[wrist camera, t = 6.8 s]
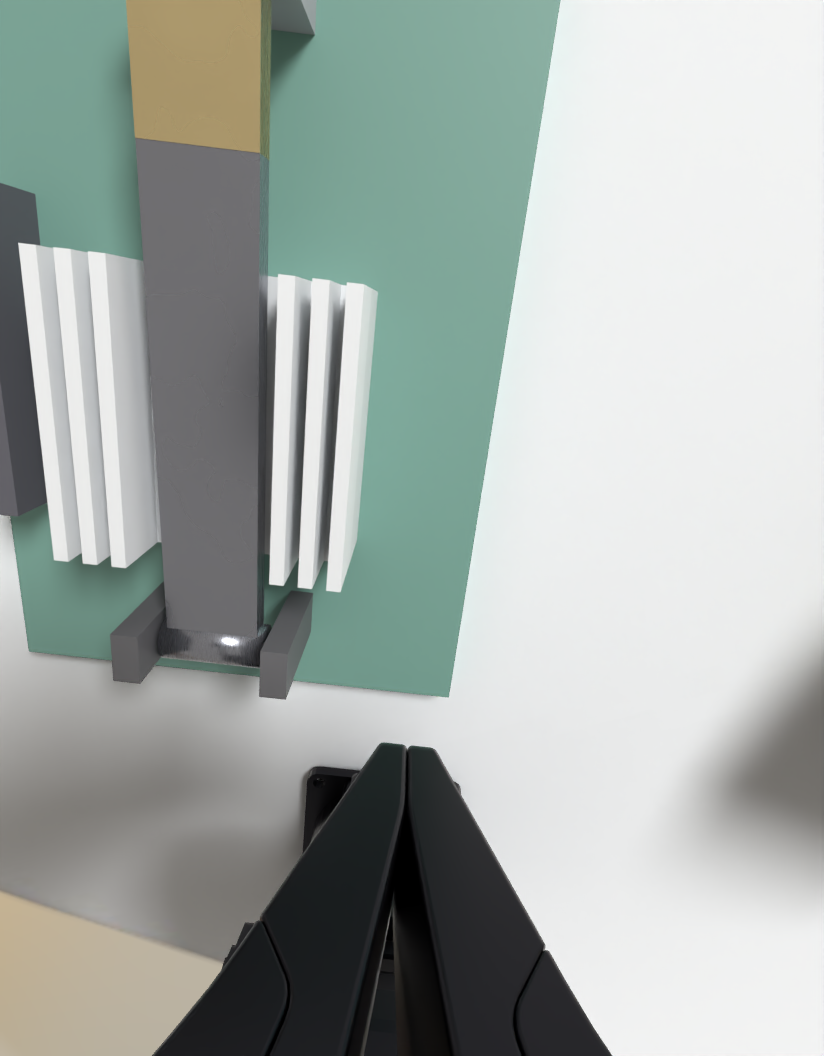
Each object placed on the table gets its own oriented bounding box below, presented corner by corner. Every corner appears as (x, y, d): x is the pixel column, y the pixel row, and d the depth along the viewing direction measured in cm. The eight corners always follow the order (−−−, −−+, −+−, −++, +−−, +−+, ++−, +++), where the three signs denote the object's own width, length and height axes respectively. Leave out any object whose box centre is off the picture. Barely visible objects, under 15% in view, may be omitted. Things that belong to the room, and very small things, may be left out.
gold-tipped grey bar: (271, 651, 19) (260, 677, 18) (177, 641, 19) (159, 666, 18) (283, 6, 13) (266, -25, 11) (139, -12, 13) (106, -45, 11)
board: (447, 681, 23) (453, 775, 18) (45, 637, 23) (-55, 720, 18) (556, -11, 15) (614, -156, 11) (-45, -88, 15) (-259, -271, 10)
